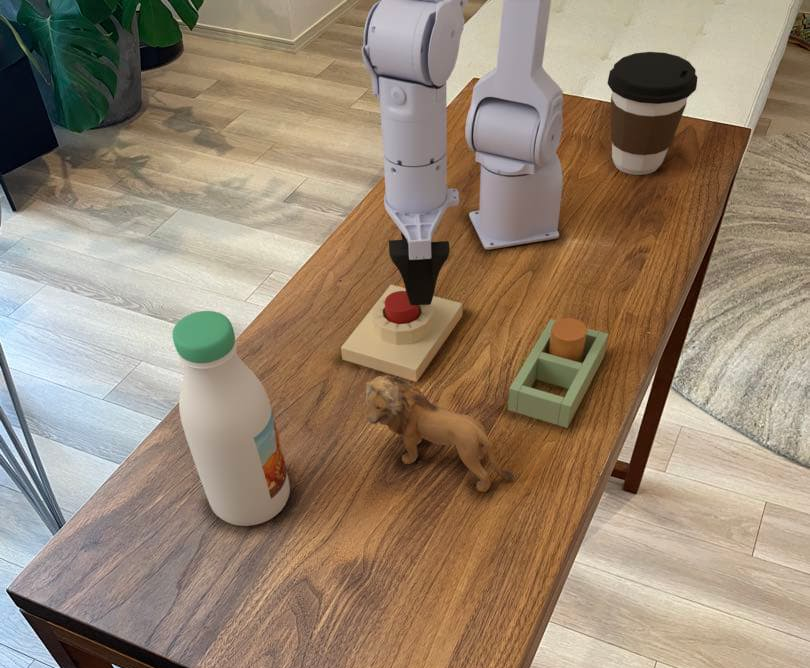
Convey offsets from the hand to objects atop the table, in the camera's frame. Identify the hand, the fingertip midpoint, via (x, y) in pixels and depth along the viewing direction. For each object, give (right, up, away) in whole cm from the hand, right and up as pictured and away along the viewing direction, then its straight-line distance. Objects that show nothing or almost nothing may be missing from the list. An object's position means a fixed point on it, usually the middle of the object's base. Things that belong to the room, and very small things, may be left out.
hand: (418, 279), depth 85 cm
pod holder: (+14, -10, +1) cm, 18 cm away
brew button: (-2, -2, +4) cm, 5 cm away
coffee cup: (+30, +24, +27) cm, 47 cm away
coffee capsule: (+15, -8, +3) cm, 18 cm away
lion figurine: (+1, -19, -5) cm, 20 cm away
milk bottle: (-16, -23, -6) cm, 29 cm away
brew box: (-2, -4, +7) cm, 8 cm away
